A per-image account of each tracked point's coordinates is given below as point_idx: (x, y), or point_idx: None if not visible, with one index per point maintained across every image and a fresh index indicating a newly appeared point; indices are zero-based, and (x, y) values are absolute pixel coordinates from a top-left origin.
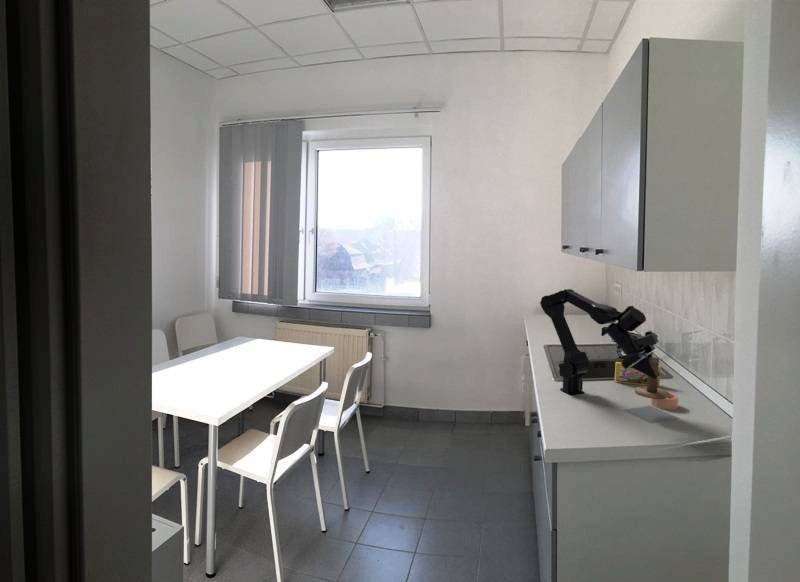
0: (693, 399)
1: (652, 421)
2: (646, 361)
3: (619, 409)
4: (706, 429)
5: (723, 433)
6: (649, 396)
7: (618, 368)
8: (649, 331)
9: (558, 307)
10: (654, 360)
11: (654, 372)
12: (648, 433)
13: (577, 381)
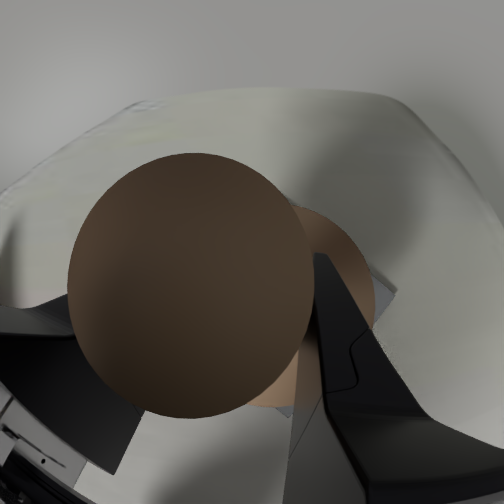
0: (55, 184)
1: (374, 292)
2: (431, 426)
3: (269, 425)
4: (322, 125)
5: (327, 91)
6: (374, 311)
7: None
8: None
9: None
10: (306, 260)
11: (323, 277)
12: (472, 293)
13: None
